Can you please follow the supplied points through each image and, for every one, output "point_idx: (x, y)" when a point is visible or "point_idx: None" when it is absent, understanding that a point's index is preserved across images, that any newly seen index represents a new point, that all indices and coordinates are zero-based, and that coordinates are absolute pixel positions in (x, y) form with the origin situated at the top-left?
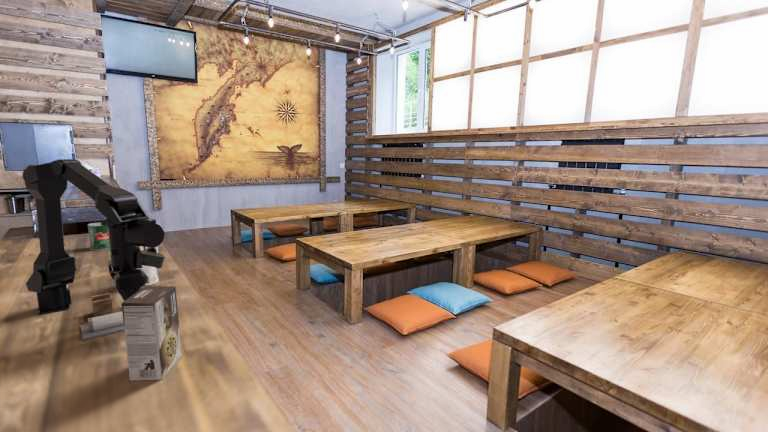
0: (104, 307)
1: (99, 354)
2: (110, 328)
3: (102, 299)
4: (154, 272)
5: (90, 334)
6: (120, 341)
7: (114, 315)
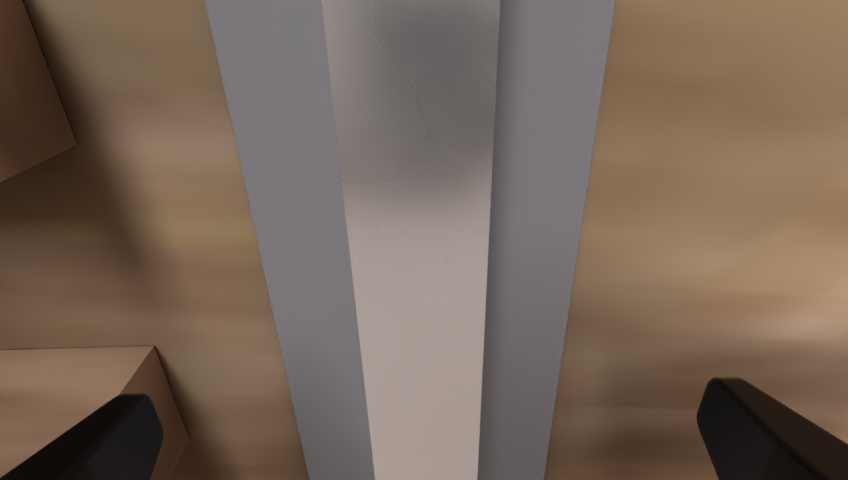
0: None
1: (837, 432)
2: (483, 384)
3: None
4: None
5: (501, 470)
6: (758, 337)
7: (448, 433)
